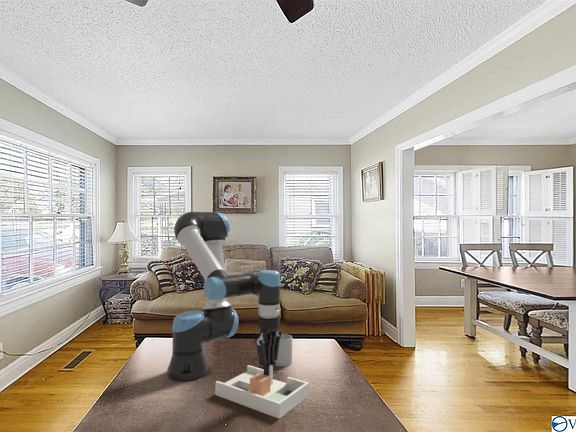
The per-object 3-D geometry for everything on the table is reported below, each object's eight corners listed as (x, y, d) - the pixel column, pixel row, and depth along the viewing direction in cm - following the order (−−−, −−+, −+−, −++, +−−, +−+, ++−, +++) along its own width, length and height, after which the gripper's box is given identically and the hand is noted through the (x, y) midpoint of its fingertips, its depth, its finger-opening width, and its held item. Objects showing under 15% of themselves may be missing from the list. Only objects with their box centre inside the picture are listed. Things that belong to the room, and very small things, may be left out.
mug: (288, 367, 152) (289, 340, 152) (269, 365, 154) (269, 338, 154) (296, 357, 163) (296, 332, 163) (278, 355, 166) (278, 330, 166)
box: (215, 394, 127) (215, 381, 127) (248, 376, 142) (248, 365, 142) (279, 418, 112) (279, 403, 112) (309, 395, 127) (309, 382, 127)
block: (249, 393, 123) (249, 378, 123) (258, 387, 128) (258, 373, 128) (261, 397, 121) (261, 381, 121) (270, 391, 125) (270, 376, 125)
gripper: (266, 321, 120) (265, 393, 120) (288, 313, 131) (287, 379, 131) (248, 317, 124) (247, 388, 124) (271, 310, 135) (270, 374, 135)
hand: (268, 383), depth 128 cm, fingers closed
